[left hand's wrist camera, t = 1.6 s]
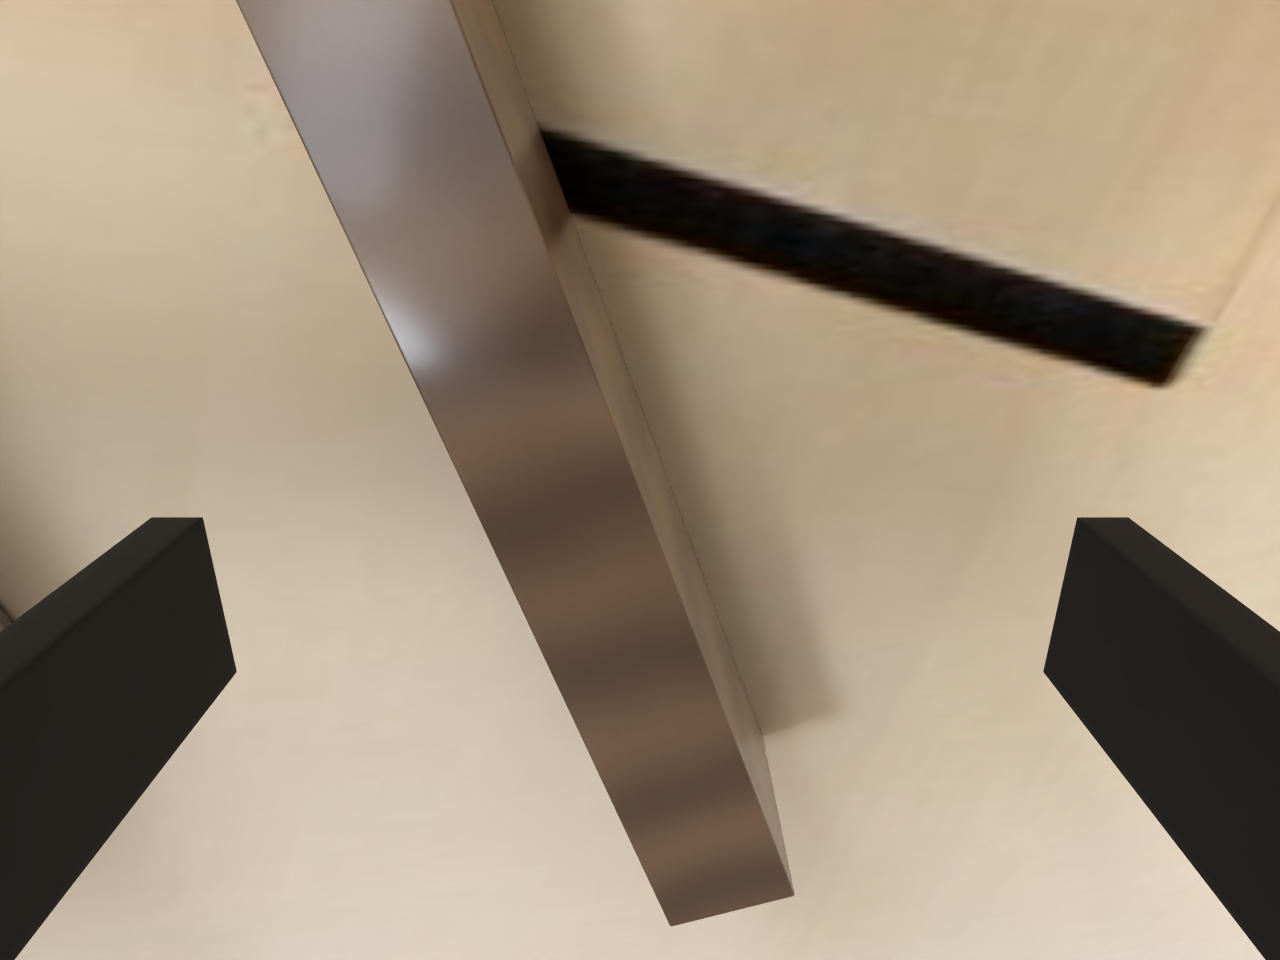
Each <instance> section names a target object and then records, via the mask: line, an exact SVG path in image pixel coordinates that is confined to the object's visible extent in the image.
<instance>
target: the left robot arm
mask: <svg viewBox="0 0 1280 960" xmlns="http://www.w3.org/2000/svg"><path fill="white" fill-rule="evenodd" d="M236 672H237V671H236V667H235V662H234V658H233V653H232V649H231V644H230V639H229V635H228V630H227V626H226V621H225V617H224V612H223V608H222V603H221V599H220V594H219V589H218V585H217V580H216V576H215V571H214V567H213V562H212V558H211V553H210V549H209V544H208V539H207V535H206V530H205V526H204V521H203V518H150V519H149V520H148V521H146V522H145V523H144V524H142V525H141V526H140V527H139V528H137V529H136V530H135V531H133V532H132V533H131V534H129V535H128V536H127V537H125V538H124V539H123V540H121V541H120V542H119V543H117V544H116V545H115V546H113V547H112V548H111V549H109V550H108V551H107V552H105V553H104V554H103V555H101V556H100V557H99V558H97V559H96V560H95V561H93V562H92V563H91V564H89V565H88V566H87V567H85V568H84V569H83V570H82V571H80V572H79V573H78V574H76V575H75V576H74V577H72V578H71V579H70V580H68V581H67V582H66V583H64V584H63V585H62V586H60V587H59V588H58V589H56V590H55V591H54V592H52V593H51V594H50V595H48V596H47V597H46V598H44V599H43V600H42V601H40V602H39V603H38V604H36V605H35V606H34V607H32V608H31V609H30V610H28V611H27V612H26V613H25V614H23V615H22V616H21V617H19V618H18V619H17V620H15V621H14V622H13V623H12V622H11V620H10V619H9V618H8V617H7V616H6V614H5V613H4V612H3V611H2V610H1V608H0V960H15V958H16V957H17V956H18V954H19V953H20V952H21V950H22V949H23V948H24V947H25V945H26V944H27V943H28V941H29V940H30V939H31V938H32V936H33V935H34V934H35V932H36V931H37V930H38V928H39V927H40V926H41V925H42V923H43V922H44V921H45V919H46V918H47V917H48V916H49V914H50V913H51V912H52V910H53V909H54V908H55V906H56V905H57V904H58V903H59V901H60V900H61V899H62V897H63V896H64V895H65V893H66V892H67V891H68V890H69V888H70V887H71V886H72V884H73V883H74V882H75V881H76V879H77V878H78V877H79V875H80V874H81V873H82V871H83V870H84V869H85V868H86V866H87V865H88V864H89V862H90V861H91V860H92V859H93V857H94V856H95V855H96V853H97V852H98V851H99V849H100V848H101V847H102V846H103V844H104V843H105V842H106V840H107V839H108V838H109V836H110V835H111V834H112V833H113V831H114V830H115V829H116V827H117V826H118V825H119V824H120V822H121V821H122V820H123V818H124V817H125V816H126V814H127V813H128V812H129V811H130V809H131V808H132V807H133V805H134V804H135V803H136V801H137V800H138V799H139V798H140V796H141V795H142V794H143V792H144V791H145V790H146V789H147V787H148V786H149V785H150V783H151V782H152V781H153V779H154V778H155V777H156V776H157V774H158V773H159V772H160V770H161V769H162V768H163V767H164V765H165V764H166V763H167V761H168V760H169V759H170V757H171V756H172V755H173V754H174V752H175V751H176V750H177V748H178V747H179V746H180V744H181V743H182V742H183V741H184V739H185V738H186V737H187V735H188V734H189V733H190V732H191V730H192V729H193V728H194V726H195V725H196V724H197V722H198V721H199V720H200V719H201V717H202V716H203V715H204V713H205V712H206V711H207V710H208V708H209V707H210V706H211V704H212V703H213V702H214V700H215V699H216V698H217V697H218V695H219V694H220V693H221V691H222V690H223V689H224V687H225V686H226V685H227V684H228V682H229V681H230V680H231V678H232V677H233V676H234V675H235V673H236ZM1043 672H1044V673H1045V675H1046V676H1047V677H1048V678H1049V680H1050V681H1051V682H1052V684H1053V685H1054V686H1055V687H1056V689H1057V690H1058V691H1059V693H1060V694H1061V695H1062V697H1063V698H1064V699H1065V700H1066V702H1067V703H1068V704H1069V706H1070V707H1071V708H1072V710H1073V711H1074V712H1075V713H1076V715H1077V716H1078V717H1079V719H1080V720H1081V721H1082V722H1083V724H1084V725H1085V726H1086V728H1087V729H1088V730H1089V732H1090V733H1091V734H1092V735H1093V737H1094V738H1095V739H1096V741H1097V742H1098V743H1099V744H1100V746H1101V747H1102V748H1103V750H1104V751H1105V752H1106V754H1107V755H1108V756H1109V757H1110V759H1111V760H1112V761H1113V763H1114V764H1115V765H1116V767H1117V768H1118V769H1119V770H1120V772H1121V773H1122V774H1123V776H1124V777H1125V778H1126V779H1127V781H1128V782H1129V783H1130V785H1131V786H1132V787H1133V789H1134V790H1135V791H1136V792H1137V794H1138V795H1139V796H1140V798H1141V799H1142V800H1143V802H1144V803H1145V804H1146V805H1147V807H1148V808H1149V809H1150V811H1151V812H1152V813H1153V814H1154V816H1155V817H1156V818H1157V820H1158V821H1159V822H1160V824H1161V825H1162V826H1163V827H1164V829H1165V830H1166V831H1167V833H1168V834H1169V835H1170V836H1171V838H1172V839H1173V840H1174V842H1175V843H1176V844H1177V846H1178V847H1179V848H1180V849H1181V851H1182V852H1183V853H1184V855H1185V856H1186V857H1187V859H1188V860H1189V861H1190V862H1191V864H1192V865H1193V866H1194V868H1195V869H1196V870H1197V871H1198V873H1199V874H1200V875H1201V877H1202V878H1203V879H1204V881H1205V882H1206V883H1207V884H1208V886H1209V887H1210V888H1211V890H1212V891H1213V892H1214V893H1215V895H1216V896H1217V897H1218V899H1219V900H1220V901H1221V903H1222V904H1223V905H1224V906H1225V908H1226V909H1227V910H1228V912H1229V913H1230V914H1231V916H1232V917H1233V918H1234V919H1235V921H1236V922H1237V923H1238V925H1239V926H1240V927H1241V928H1242V930H1243V931H1244V932H1245V934H1246V935H1247V936H1248V938H1249V939H1250V940H1251V941H1252V943H1253V944H1254V945H1255V947H1256V948H1257V949H1258V950H1259V952H1260V953H1261V954H1262V956H1263V957H1264V958H1265V960H1280V632H1279V631H1278V630H1277V629H1275V628H1274V627H1273V626H1271V625H1270V624H1269V623H1267V622H1266V621H1265V620H1263V619H1262V618H1261V617H1259V616H1258V615H1257V614H1255V613H1254V612H1253V611H1252V610H1250V609H1249V608H1248V607H1246V606H1245V605H1244V604H1242V603H1241V602H1240V601H1238V600H1237V599H1236V598H1234V597H1233V596H1232V595H1230V594H1229V593H1228V592H1226V591H1225V590H1224V589H1222V588H1221V587H1220V586H1218V585H1217V584H1216V583H1214V582H1213V581H1212V580H1210V579H1209V578H1208V577H1206V576H1205V575H1204V574H1202V573H1201V572H1200V571H1198V570H1197V569H1196V568H1195V567H1193V566H1192V565H1191V564H1189V563H1188V562H1187V561H1185V560H1184V559H1183V558H1181V557H1180V556H1179V555H1177V554H1176V553H1175V552H1173V551H1172V550H1171V549H1169V548H1168V547H1167V546H1165V545H1164V544H1163V543H1161V542H1160V541H1159V540H1157V539H1156V538H1155V537H1153V536H1152V535H1151V534H1149V533H1148V532H1147V531H1145V530H1144V529H1143V528H1141V527H1140V526H1139V525H1138V524H1136V523H1135V522H1134V521H1132V520H1131V519H1130V518H1077V521H1076V526H1075V530H1074V535H1073V539H1072V544H1071V549H1070V553H1069V558H1068V562H1067V567H1066V571H1065V576H1064V580H1063V585H1062V589H1061V594H1060V599H1059V603H1058V608H1057V612H1056V617H1055V621H1054V626H1053V630H1052V635H1051V639H1050V644H1049V649H1048V653H1047V658H1046V662H1045V667H1044V671H1043Z"/></svg>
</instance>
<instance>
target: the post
mask: <svg viewBox="0 0 1280 960" xmlns="http://www.w3.org/2000/svg"><path fill="white" fill-rule="evenodd" d="M236 1H237V4H238V6H239V8H240V10H241V12H242V14H243V16H244V19H245V21H246V23H247V25H248V27H249V29H250V31H251V33H252V36H253V38H254V40H255V42H256V44H257V46H258V48H259V50H260V53H261V55H262V57H263V59H264V61H265V63H266V65H267V68H268V70H269V72H270V74H271V76H272V78H273V80H274V82H275V85H276V87H277V89H278V91H279V93H280V95H281V97H282V100H283V102H284V104H285V106H286V108H287V110H288V112H289V114H290V117H291V119H292V121H293V123H294V125H295V127H296V129H297V131H298V134H299V136H300V138H301V140H302V142H303V144H304V146H305V149H306V151H307V153H308V155H309V157H310V159H311V161H312V163H313V166H314V168H315V170H316V172H317V174H318V176H319V178H320V181H321V183H322V185H323V187H324V189H325V191H326V193H327V195H328V198H329V200H330V202H331V204H332V206H333V208H334V210H335V213H336V215H337V217H338V219H339V221H340V223H341V225H342V227H343V230H344V232H345V234H346V236H347V238H348V240H349V242H350V244H351V247H352V249H353V251H354V253H355V255H356V257H357V259H358V262H359V264H360V266H361V268H362V270H363V272H364V274H365V276H366V279H367V281H368V283H369V285H370V287H371V289H372V291H373V294H374V296H375V298H376V300H377V302H378V304H379V306H380V308H381V311H382V313H383V315H384V317H385V319H386V321H387V323H388V325H389V328H390V330H391V332H392V334H393V336H394V338H395V340H396V343H397V345H398V347H399V349H400V351H401V353H402V355H403V357H404V360H405V362H406V364H407V366H408V368H409V370H410V372H411V375H412V377H413V379H414V381H415V383H416V385H417V387H418V389H419V392H420V394H421V396H422V398H423V400H424V402H425V404H426V406H427V409H428V411H429V413H430V415H431V417H432V419H433V421H434V424H435V426H436V428H437V430H438V432H439V434H440V436H441V438H442V441H443V443H444V445H445V447H446V449H447V451H448V453H449V456H450V458H451V460H452V462H453V464H454V466H455V468H456V470H457V473H458V475H459V477H460V479H461V481H462V483H463V485H464V488H465V490H466V492H467V494H468V496H469V498H470V500H471V502H472V505H473V507H474V509H475V511H476V513H477V515H478V517H479V519H480V522H481V524H482V526H483V528H484V530H485V532H486V534H487V537H488V539H489V541H490V543H491V545H492V547H493V549H494V551H495V554H496V556H497V558H498V560H499V562H500V564H501V566H502V569H503V571H504V573H505V575H506V577H507V579H508V581H509V583H510V586H511V588H512V590H513V592H514V594H515V596H516V598H517V600H518V603H519V605H520V607H521V609H522V611H523V613H524V615H525V618H526V620H527V622H528V624H529V626H530V628H531V630H532V632H533V635H534V637H535V639H536V641H537V643H538V645H539V647H540V650H541V652H542V654H543V656H544V658H545V660H546V662H547V664H548V667H549V669H550V671H551V673H552V675H553V677H554V679H555V682H556V684H557V686H558V688H559V690H560V692H561V694H562V696H563V699H564V701H565V703H566V705H567V707H568V709H569V711H570V713H571V716H572V718H573V720H574V722H575V724H576V726H577V728H578V731H579V733H580V735H581V737H582V739H583V741H584V743H585V745H586V748H587V750H588V752H589V754H590V756H591V758H592V760H593V763H594V765H595V767H596V769H597V771H598V773H599V775H600V777H601V780H602V782H603V784H604V786H605V788H606V790H607V792H608V794H609V797H610V799H611V801H612V803H613V805H614V807H615V809H616V812H617V814H618V816H619V818H620V820H621V822H622V824H623V826H624V829H625V831H626V833H627V835H628V837H629V839H630V841H631V844H632V846H633V848H634V850H635V852H636V854H637V856H638V858H639V861H640V863H641V865H642V867H643V869H644V871H645V873H646V876H647V878H648V880H649V882H650V884H651V886H652V888H653V890H654V893H655V895H656V897H657V899H658V901H659V903H660V905H661V907H662V910H663V912H664V914H665V916H666V918H667V920H668V922H669V925H670V926H675V925H679V924H683V923H687V922H691V921H695V920H699V919H703V918H707V917H711V916H715V915H719V914H723V913H727V912H731V911H735V910H739V909H743V908H747V907H751V906H755V905H759V904H763V903H767V902H771V901H775V900H779V899H783V898H787V897H791V896H794V889H793V884H792V879H791V874H790V869H789V865H788V860H787V855H786V850H785V845H784V840H783V835H782V830H781V825H780V820H779V815H778V810H777V805H776V800H775V796H774V791H773V786H772V781H771V776H770V771H769V766H768V761H767V756H766V751H765V746H764V741H763V737H762V734H761V731H760V728H759V726H758V723H757V720H756V718H755V715H754V712H753V709H752V707H751V704H750V701H749V699H748V696H747V693H746V690H745V688H744V685H743V682H742V679H741V677H740V674H739V671H738V669H737V666H736V663H735V660H734V658H733V655H732V652H731V649H730V647H729V644H728V641H727V639H726V636H725V633H724V630H723V628H722V625H721V622H720V619H719V617H718V614H717V611H716V609H715V606H714V603H713V600H712V598H711V595H710V592H709V590H708V587H707V584H706V581H705V579H704V576H703V573H702V570H701V568H700V565H699V562H698V560H697V557H696V554H695V551H694V549H693V546H692V543H691V540H690V538H689V535H688V532H687V530H686V527H685V524H684V521H683V519H682V516H681V513H680V511H679V508H678V505H677V502H676V500H675V497H674V494H673V491H672V489H671V486H670V483H669V481H668V478H667V475H666V472H665V470H664V467H663V464H662V461H661V459H660V456H659V453H658V451H657V448H656V445H655V442H654V440H653V437H652V434H651V432H650V429H649V426H648V423H647V421H646V418H645V415H644V412H643V410H642V407H641V404H640V402H639V399H638V396H637V393H636V391H635V388H634V385H633V382H632V380H631V377H630V374H629V372H628V369H627V366H626V363H625V361H624V358H623V355H622V353H621V350H620V347H619V344H618V342H617V339H616V336H615V333H614V331H613V328H612V325H611V323H610V320H609V317H608V314H607V312H606V309H605V306H604V303H603V301H602V298H601V295H600V293H599V290H598V287H597V284H596V282H595V279H594V276H593V273H592V271H591V268H590V265H589V263H588V260H587V257H586V254H585V252H584V249H583V246H582V244H581V241H580V238H579V235H578V233H577V230H576V227H575V224H574V222H573V219H572V216H571V214H570V211H569V208H568V205H567V203H566V200H565V197H564V194H563V192H562V189H561V186H560V184H559V181H558V178H557V175H556V173H555V170H554V167H553V165H552V162H551V159H550V156H549V154H548V151H547V148H546V145H545V143H544V140H543V137H542V135H541V132H540V129H539V126H538V124H537V121H536V118H535V115H534V113H533V110H532V107H531V105H530V102H529V99H528V96H527V94H526V91H525V88H524V86H523V83H522V80H521V77H520V75H519V72H518V69H517V66H516V64H515V61H514V58H513V56H512V53H511V50H510V47H509V45H508V42H507V39H506V36H505V34H504V31H503V28H502V26H501V23H500V20H499V17H498V15H497V12H496V9H495V7H494V4H493V1H492V0H236Z"/></svg>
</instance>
